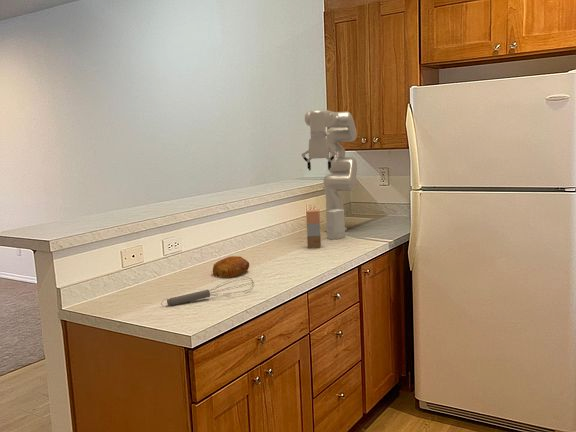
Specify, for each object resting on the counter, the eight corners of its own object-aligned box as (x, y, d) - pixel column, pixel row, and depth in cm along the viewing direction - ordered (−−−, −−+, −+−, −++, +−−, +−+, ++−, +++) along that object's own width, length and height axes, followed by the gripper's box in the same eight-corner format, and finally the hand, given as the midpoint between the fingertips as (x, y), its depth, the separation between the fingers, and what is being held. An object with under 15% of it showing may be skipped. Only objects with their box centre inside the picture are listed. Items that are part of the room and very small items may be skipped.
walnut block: (308, 245, 285) (308, 233, 284) (320, 245, 284) (320, 233, 283) (307, 248, 279) (307, 236, 278) (320, 248, 278) (319, 235, 277)
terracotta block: (307, 221, 283) (307, 209, 282) (320, 221, 282) (319, 209, 281) (306, 223, 277) (306, 211, 276) (319, 223, 276) (318, 211, 275)
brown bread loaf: (255, 275, 240) (256, 256, 240) (232, 279, 227) (233, 259, 227) (227, 271, 248) (228, 253, 247) (204, 275, 234) (205, 256, 234)
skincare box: (337, 236, 306) (336, 208, 303) (345, 237, 301) (345, 209, 299) (326, 238, 300) (325, 210, 298) (334, 240, 296) (333, 211, 294)
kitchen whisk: (159, 305, 198) (158, 287, 198) (251, 290, 212) (250, 273, 211) (163, 310, 193) (162, 291, 192) (257, 294, 207) (256, 277, 206)
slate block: (308, 233, 284) (307, 221, 283) (320, 233, 283) (319, 221, 282) (307, 236, 278) (306, 223, 277) (319, 235, 277) (319, 223, 276)
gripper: (335, 134, 290) (336, 168, 293) (301, 136, 292) (302, 170, 295) (335, 135, 283) (336, 169, 286) (300, 136, 285) (301, 171, 288)
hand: (319, 169), depth 290 cm, fingers open, 9 cm apart
